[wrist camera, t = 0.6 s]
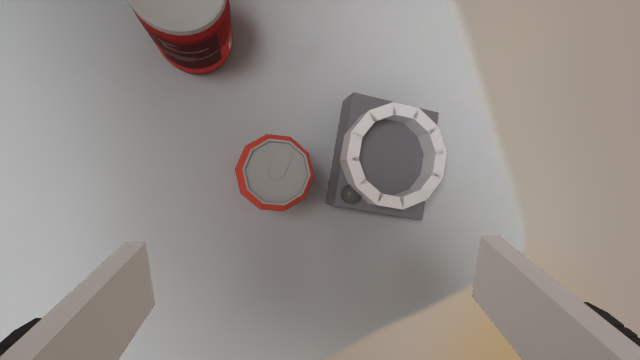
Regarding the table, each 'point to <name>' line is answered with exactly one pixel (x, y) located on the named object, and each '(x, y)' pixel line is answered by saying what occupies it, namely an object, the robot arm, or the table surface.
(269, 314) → the table surface
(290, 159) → the beverage can
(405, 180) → the mount
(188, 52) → the canned food
